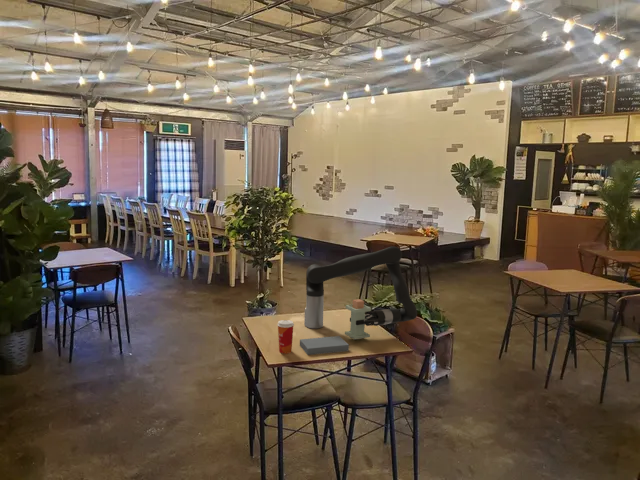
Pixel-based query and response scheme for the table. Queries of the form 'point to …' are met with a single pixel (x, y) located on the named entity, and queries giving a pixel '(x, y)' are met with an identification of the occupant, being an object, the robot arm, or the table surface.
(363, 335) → the green pedestal
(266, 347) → the table surface
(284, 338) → the paper cup
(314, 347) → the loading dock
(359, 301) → the cube
